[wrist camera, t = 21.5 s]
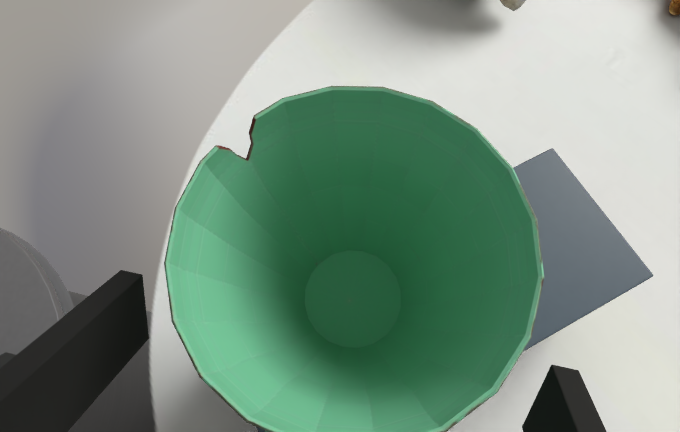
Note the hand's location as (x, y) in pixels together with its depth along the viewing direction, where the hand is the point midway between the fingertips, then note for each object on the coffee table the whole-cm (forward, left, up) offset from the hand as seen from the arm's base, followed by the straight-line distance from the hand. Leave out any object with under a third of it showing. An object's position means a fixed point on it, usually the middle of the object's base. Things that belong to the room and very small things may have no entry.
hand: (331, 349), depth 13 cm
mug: (0, 0, -7) cm, 7 cm away
